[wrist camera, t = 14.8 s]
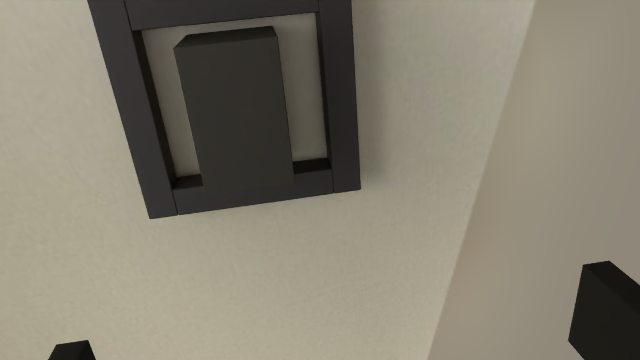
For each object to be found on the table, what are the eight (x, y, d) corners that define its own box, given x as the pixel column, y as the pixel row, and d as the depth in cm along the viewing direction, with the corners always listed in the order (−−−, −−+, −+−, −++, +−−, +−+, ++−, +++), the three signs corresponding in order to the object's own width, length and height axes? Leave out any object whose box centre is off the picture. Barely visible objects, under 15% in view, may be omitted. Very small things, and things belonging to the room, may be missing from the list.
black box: (272, 25, 26) (277, 36, 22) (288, 152, 30) (295, 183, 25) (186, 34, 26) (172, 47, 21) (212, 162, 29) (205, 196, 25)
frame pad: (343, -28, 26) (350, -28, 24) (354, 177, 31) (361, 190, 30) (98, -4, 25) (85, -3, 23) (155, 205, 30) (149, 219, 28)
